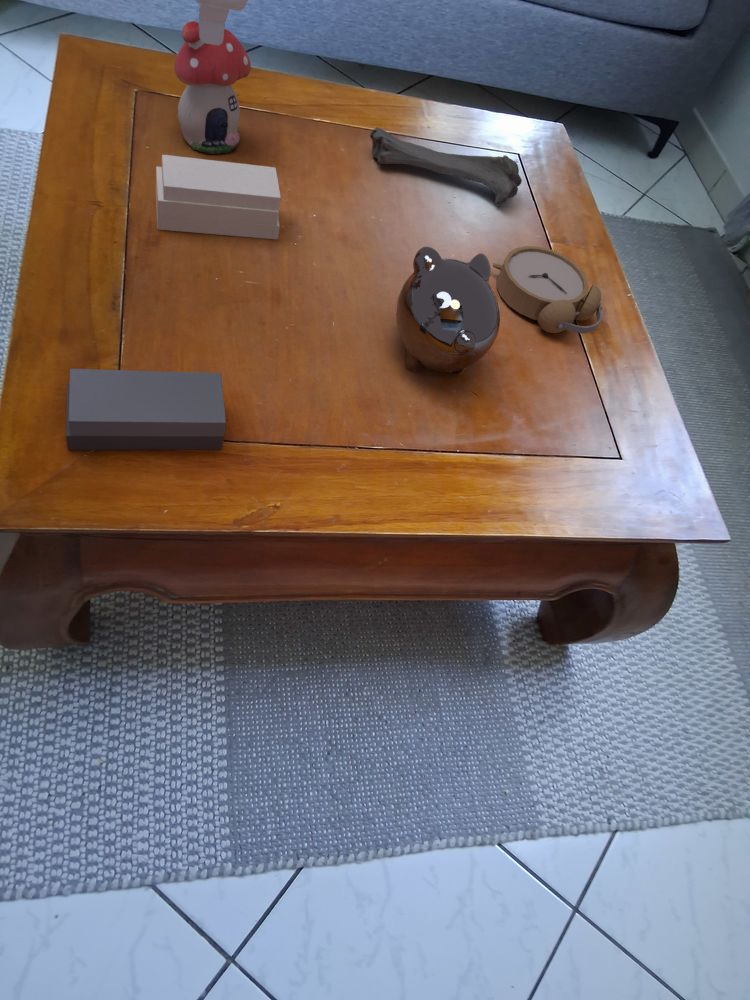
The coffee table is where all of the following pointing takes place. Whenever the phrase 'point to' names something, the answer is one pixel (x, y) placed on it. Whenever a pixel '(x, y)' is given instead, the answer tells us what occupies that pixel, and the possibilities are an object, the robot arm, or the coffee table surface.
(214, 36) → the robot arm
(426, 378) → the coffee table surface
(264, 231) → the grey oblong block
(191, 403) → the dark grey box
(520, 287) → the alarm clock
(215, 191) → the pale grey rectangular block
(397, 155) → the bone
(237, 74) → the decorative ornament
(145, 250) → the coffee table surface
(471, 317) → the piggy bank
